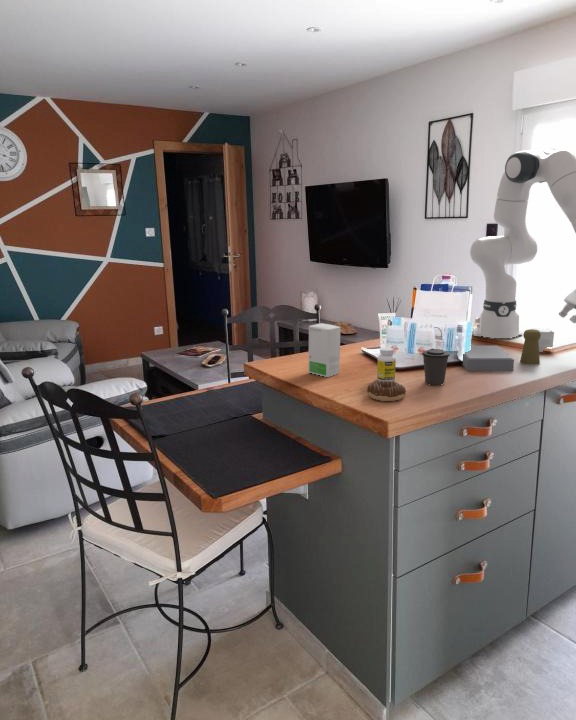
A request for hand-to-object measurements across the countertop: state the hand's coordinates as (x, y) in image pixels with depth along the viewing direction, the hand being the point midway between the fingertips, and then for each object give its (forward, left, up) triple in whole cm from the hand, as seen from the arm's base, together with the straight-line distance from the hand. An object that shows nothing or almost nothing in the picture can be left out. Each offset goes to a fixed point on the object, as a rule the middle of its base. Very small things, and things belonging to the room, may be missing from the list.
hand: (566, 318), depth 180 cm
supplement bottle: (+20, -58, -15) cm, 63 cm away
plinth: (+1, -25, -15) cm, 29 cm away
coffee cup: (+23, -44, -15) cm, 52 cm away
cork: (0, -10, -15) cm, 18 cm away
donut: (+36, -59, -15) cm, 71 cm away
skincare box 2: (-17, -1, -15) cm, 23 cm away
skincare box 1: (+13, -77, -15) cm, 80 cm away
